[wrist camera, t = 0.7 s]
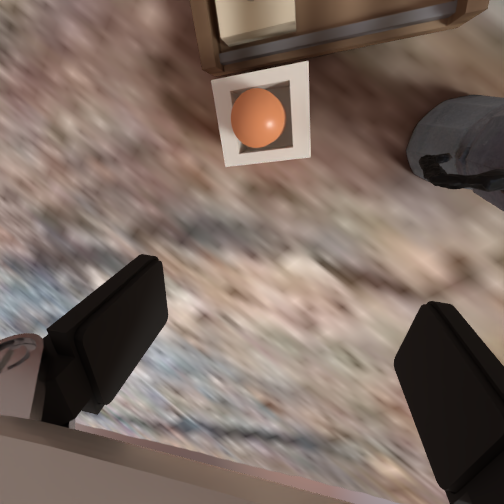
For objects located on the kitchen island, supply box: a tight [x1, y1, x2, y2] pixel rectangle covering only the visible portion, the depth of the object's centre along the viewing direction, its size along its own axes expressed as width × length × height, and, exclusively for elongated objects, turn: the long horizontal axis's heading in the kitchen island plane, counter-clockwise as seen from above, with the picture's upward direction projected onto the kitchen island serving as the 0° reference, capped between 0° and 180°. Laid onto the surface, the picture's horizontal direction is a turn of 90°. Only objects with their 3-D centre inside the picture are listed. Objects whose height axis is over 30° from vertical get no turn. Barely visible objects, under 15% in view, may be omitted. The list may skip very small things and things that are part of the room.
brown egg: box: [231, 88, 286, 148], centre depth 20 cm, size 4×4×4 cm
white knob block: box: [211, 61, 311, 167], centre depth 26 cm, size 8×8×10 cm
